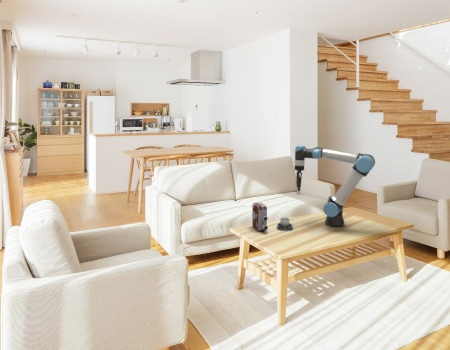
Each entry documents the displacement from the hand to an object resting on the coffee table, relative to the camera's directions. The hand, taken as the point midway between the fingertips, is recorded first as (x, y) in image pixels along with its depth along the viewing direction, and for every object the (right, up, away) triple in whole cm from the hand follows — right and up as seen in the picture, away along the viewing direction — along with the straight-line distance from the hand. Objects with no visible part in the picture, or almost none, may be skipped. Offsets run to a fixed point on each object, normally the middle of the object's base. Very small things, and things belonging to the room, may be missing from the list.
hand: (298, 194), depth 313 cm
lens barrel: (-12, -26, -8) cm, 30 cm away
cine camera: (-31, -27, -12) cm, 43 cm away
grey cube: (-12, -25, -8) cm, 29 cm away
